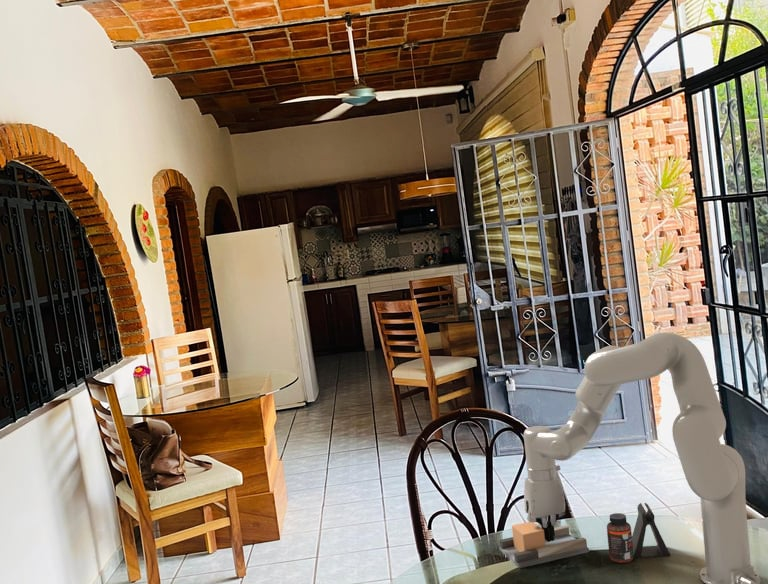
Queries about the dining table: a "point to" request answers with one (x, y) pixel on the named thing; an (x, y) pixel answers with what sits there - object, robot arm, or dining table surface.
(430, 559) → the dining table surface
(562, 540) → the chute
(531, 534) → the block
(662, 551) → the dark a-frame stand
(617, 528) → the supplement bottle
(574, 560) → the dining table surface
